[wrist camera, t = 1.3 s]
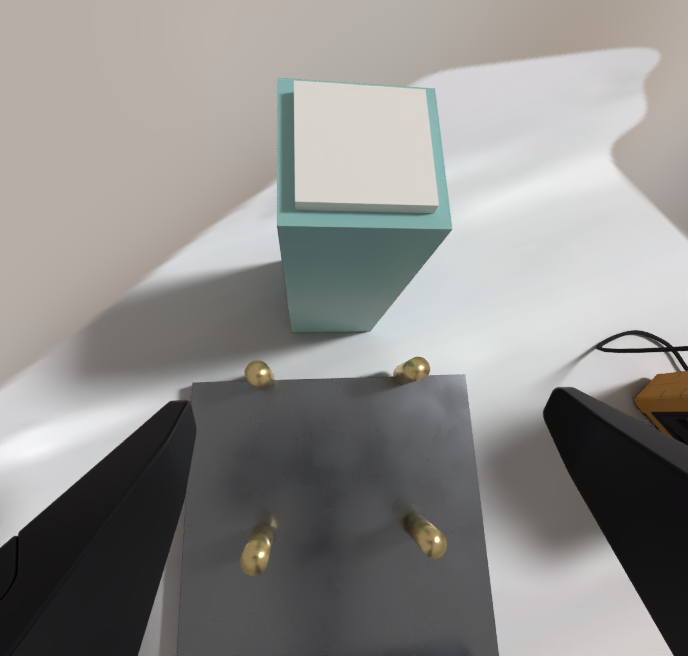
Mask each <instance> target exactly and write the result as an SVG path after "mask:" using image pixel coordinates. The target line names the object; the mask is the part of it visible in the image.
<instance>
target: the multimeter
mask: <svg viewBox="0 0 688 656" xmlns="http://www.w3.org/2000/svg"><path fill="white" fill-rule="evenodd" d="M628 334H641V335H645V336H648V337H650V338H653V339H655V340H657V341H659V342H660V343H662V344H664V345H665V346H667V347H662V348H640V349H611V348H602V346H603V345H605V344H607V343H608V342H610V341H612V340H614V339H616V338H619V337H621V336H624V335H628ZM596 349H598V350H601V351H603V352H613V353H645V352H673V354H674V355H675V356H676V358H677V359H678V361H679V362H680V364H681V365H682V367H683V368H684V370H685V371H684V372H674V373H666V374H657V375H656V376H655V377H654V378H653V379H652V380H651V382H650V383H649V384H648V385H647V386H646V387H645V388H644V389H643V390H642V391H641V392H640V393H639V394H638V395H637V396H636V399H635V404H636V405H637V406H638V408H639V409H640V410H641V411H642V413H645V414H646V415H647V416H648V417H649V418H650V419H651V420H652V421H653V423H654V424H655V425H656V426H657V427H658V428H659V429H660V430H661V431H662V433H663V434H665V435H667V436H669V437H671V438H673V439H675V440H677V441H679V442H681V443H683V444H685V445H687V446H688V366H687V365H686V363H685V362H684V360H683V359H682V357H681V356H680V354H679V353H678V352H677V351H688V346H681V347H673V346H672V345H670V344H669V343H668V342H666V341H665V340H663V339H661V338H659V337H657V336H655V335H653V334H650V333H648V332H644V331H638V330H634V331H627V332H623V333H620V334H617V335H614V336H612V337H610V338H608V339H606V340H604V341H602V342H601V343H599V344H598V346H597V347H596Z"/></svg>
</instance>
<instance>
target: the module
mask: <svg viewBox="0 0 688 656" xmlns="http://www.w3.org/2000/svg"><path fill="white" fill-rule="evenodd" d="M277 83H278V84H277V88H278V90H277V94H278V95H277V97H278V98H277V99H278V100H277V102H278V103H277V106H278V107H277V229H278V237H279V244H280V251H281V259H282V266H283V273H284V281H285V288H286V295H287V303H288V310H289V318H290V325H291V332H359V331H371V330H372V329H373V327H374V326H375V325H376V324H377V322H378V321H379V320H380V319H381V317H382V316H383V315H384V314H385V312H386V311H387V310H388V309H389V307H390V306H391V305H392V304H393V302H394V301H395V300H396V299H397V297H398V296H399V295H400V294H401V292H402V291H403V290H404V289H405V287H406V286H407V285H408V284H409V283H410V281H411V280H412V279H413V278H414V276H415V275H416V274H417V273H418V271H419V270H420V269H421V268H422V266H423V265H424V264H425V263H426V261H427V260H428V259H429V258H430V256H431V255H432V254H433V253H434V251H435V250H436V249H437V248H438V246H439V245H440V244H441V243H442V241H443V240H444V239H445V238H446V236H447V235H448V234H449V233H450V231H451V230H452V223H451V215H450V207H449V199H448V191H447V183H446V175H445V166H444V158H443V150H442V142H441V134H440V126H439V118H438V109H437V101H436V93H435V89H433V88H418V87H404V86H403V87H402V86H388V85H374V84H360V83H344V82H330V81H316V80H301V79H286V78H278V82H277Z"/></svg>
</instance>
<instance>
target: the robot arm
mask: <svg viewBox="0 0 688 656" xmlns="http://www.w3.org/2000/svg"><path fill="white" fill-rule="evenodd" d="M543 417H544V421H545V423H546V425H547V427H548V429H549V432H550V434H551V436H552V438H553V440H554V442H555V445H556V447H557V449H558V451H559V453H560V456H561V458H562V460H563V462H564V464H565V466H566V468H567V470H568V473H569V475H570V476H571V478H572V480H573V482H574V484H575V485H576V487H577V489H578V491H579V492H580V494H581V496H582V498H583V499H584V501H585V503H586V504H587V506H588V508H589V510H590V511H591V513H592V515H593V517H594V518H595V520H596V522H597V524H598V525H599V527H600V529H601V530H602V532H603V534H604V536H605V537H606V539H607V541H608V543H609V544H610V546H611V548H612V550H613V551H614V553H615V555H616V556H617V558H618V560H619V562H620V563H621V565H622V567H623V569H624V570H625V572H626V574H627V576H628V577H629V579H630V581H631V582H632V584H633V586H634V588H635V589H636V591H637V593H638V595H639V596H640V598H641V600H642V602H643V603H644V605H645V607H646V608H647V610H648V612H649V614H650V615H651V617H652V619H653V621H654V622H655V624H656V626H657V628H658V629H659V631H660V633H661V634H662V636H663V638H664V640H665V641H666V643H667V645H668V647H669V648H670V650H671V652H672V654H673V655H674V656H688V446H687V445H685V444H683V443H681V442H679V441H677V440H675V439H673V438H671V437H669V436H667V435H665V434H663V433H661V432H659V431H657V430H655V429H653V428H651V427H650V426H648V425H646V424H644V423H642V422H640V421H638V420H636V419H634V418H632V417H630V416H628V415H626V414H624V413H622V412H620V411H618V410H616V409H614V408H613V407H611V406H609V405H607V404H605V403H603V402H601V401H599V400H597V399H595V398H593V397H591V396H589V395H587V394H585V393H583V392H581V391H579V390H577V389H575V388H573V387H557V388H555V389H554V390H553V391H552V393H551V395H550V397H549V399H548V401H547V404H546V406H545V408H544V410H543ZM195 439H196V422H195V418H194V414H193V409H192V405H191V403H190V402H189V401H188V400H177V401H170V402H168V403H167V404H166V405H165V406H164V407H162V408H161V409H160V410H159V411H158V412H157V413H156V414H154V415H153V416H152V417H151V418H150V419H149V420H147V421H146V422H145V423H144V424H143V425H142V426H141V427H139V428H138V429H137V430H136V431H135V432H134V433H132V434H131V435H130V436H129V437H128V438H127V439H126V440H124V441H123V442H122V443H121V444H120V445H119V446H117V447H116V448H115V449H114V450H113V451H112V452H111V453H109V454H108V455H107V456H106V457H105V458H104V459H102V460H101V461H100V462H99V463H98V464H97V465H96V466H94V467H93V468H92V469H91V470H90V471H89V472H87V473H86V474H85V475H84V476H83V477H82V478H81V479H79V480H78V481H77V482H76V483H75V484H74V485H72V486H71V487H70V488H69V489H68V490H67V491H66V492H64V493H63V494H62V495H61V496H60V497H59V498H57V499H56V500H55V501H54V502H53V503H52V504H51V505H49V506H48V507H47V508H46V509H45V510H44V511H42V512H41V513H40V514H39V515H38V516H37V517H35V518H34V519H33V520H32V521H31V522H30V523H29V524H27V525H26V526H25V527H24V528H23V529H22V530H20V531H19V533H18V536H14V537H12V538H11V539H10V540H9V541H8V542H6V543H5V544H4V545H3V546H2V547H1V548H0V656H138V653H139V650H140V646H141V643H142V640H143V636H144V633H145V630H146V627H147V623H148V620H149V617H150V613H151V610H152V607H153V603H154V600H155V597H156V593H157V590H158V587H159V583H160V580H161V577H162V573H163V570H164V567H165V563H166V560H167V557H168V553H169V550H170V547H171V543H172V540H173V537H174V534H175V530H176V527H177V524H178V520H179V517H180V514H181V510H182V507H183V503H184V499H185V494H186V489H187V484H188V478H189V473H190V467H191V461H192V456H193V450H194V445H195Z"/></svg>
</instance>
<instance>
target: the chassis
mask: <svg viewBox="0 0 688 656" xmlns="http://www.w3.org/2000/svg"><path fill="white" fill-rule="evenodd" d="M429 372H430V366H429V363H428V362H427V361H426V360H425V359H424V358H422V357H414V358H412V359H410V360H408V361H406V362H404V363H403V364H401V365H399V366H397V367H396V368H395V369H394V372H393V376H394V377H364V378H331V379H298V380H274V374H273V373H272V371H271V370H270V368H269V367H268V366H267V364H266V363H264V362H262V361H253V362H251V363H250V364H248V366H247V367H246V369H245V378H246V380H247V381H231V382H198V383H193V384H192V401H191V405H192V409H193V414H194V418H195V422H196V439H195V445H194V450H193V456H192V461H191V467H190V473H189V478H188V484H187V489H186V505H185V522H184V539H183V557H182V574H181V591H180V608H179V626H178V643H177V656H499V652H498V644H497V635H496V627H495V619H494V610H493V602H492V594H491V585H490V577H489V569H488V560H487V552H486V544H485V535H484V527H483V519H482V510H481V502H480V494H479V485H478V477H477V469H476V460H475V452H474V444H473V435H472V427H471V419H470V410H469V402H468V394H467V385H466V377H465V374H463V375H430V376H428V375H429Z"/></svg>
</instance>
